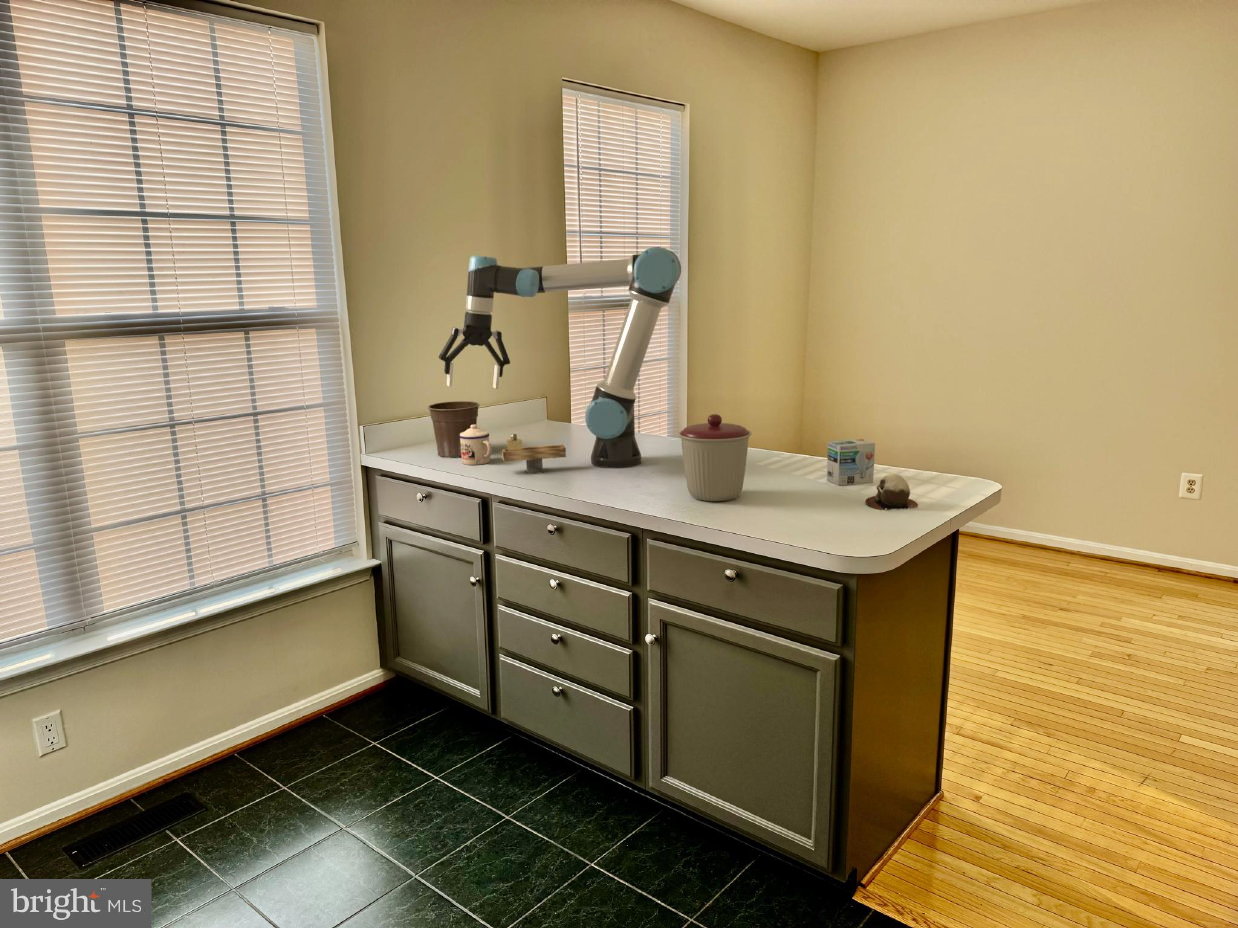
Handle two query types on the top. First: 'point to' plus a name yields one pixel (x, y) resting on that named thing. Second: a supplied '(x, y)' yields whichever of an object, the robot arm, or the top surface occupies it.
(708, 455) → the canister
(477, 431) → the teacup with lid
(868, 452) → the light bulb box
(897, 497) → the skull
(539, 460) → the beam
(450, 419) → the plant pot
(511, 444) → the rider
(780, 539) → the top surface
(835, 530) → the top surface
